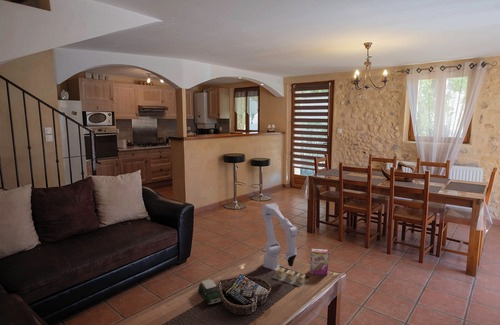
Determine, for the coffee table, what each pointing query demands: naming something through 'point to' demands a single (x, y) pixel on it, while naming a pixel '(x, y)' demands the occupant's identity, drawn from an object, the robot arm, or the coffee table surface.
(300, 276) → the block two
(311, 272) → the candy bar box
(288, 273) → the plain block
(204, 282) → the miniature car
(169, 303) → the coffee table surface
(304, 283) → the mat
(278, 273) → the block one
